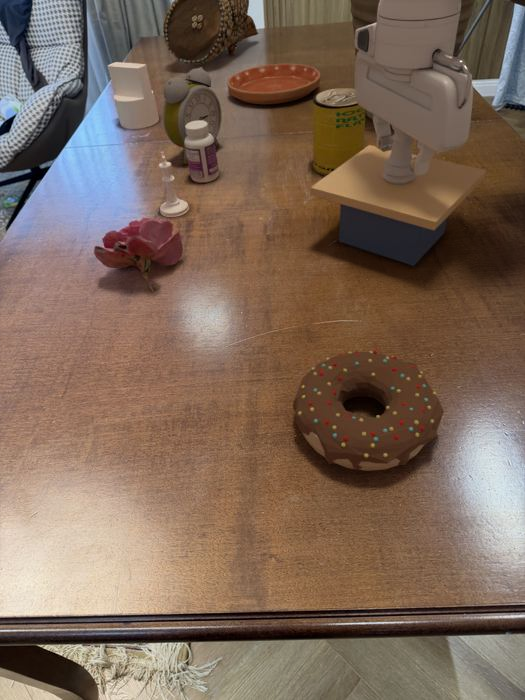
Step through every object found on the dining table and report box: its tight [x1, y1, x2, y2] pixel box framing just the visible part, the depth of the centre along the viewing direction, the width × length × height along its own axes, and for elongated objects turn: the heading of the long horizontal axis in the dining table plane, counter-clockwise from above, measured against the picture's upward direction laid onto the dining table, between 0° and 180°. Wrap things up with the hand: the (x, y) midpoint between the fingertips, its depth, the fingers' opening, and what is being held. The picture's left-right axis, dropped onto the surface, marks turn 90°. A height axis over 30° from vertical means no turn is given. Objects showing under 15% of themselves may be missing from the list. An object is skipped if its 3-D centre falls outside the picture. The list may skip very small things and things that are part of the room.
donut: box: [292, 350, 444, 472], centre depth 49 cm, size 14×14×5 cm
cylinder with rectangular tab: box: [107, 61, 160, 130], centre depth 114 cm, size 9×9×12 cm
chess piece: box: [158, 150, 190, 218], centre depth 83 cm, size 5×5×10 cm
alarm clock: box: [162, 66, 222, 165], centre depth 97 cm, size 12×7×15 cm, turn 143°
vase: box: [350, 0, 476, 121], centre depth 101 cm, size 24×24×30 cm
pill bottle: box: [184, 120, 220, 184], centre depth 91 cm, size 5×5×10 cm
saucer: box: [226, 63, 321, 105], centre depth 125 cm, size 23×23×4 cm
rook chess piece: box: [382, 124, 416, 185], centre depth 66 cm, size 4×4×8 cm
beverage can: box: [312, 87, 366, 176], centre depth 89 cm, size 9×9×12 cm
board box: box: [310, 144, 487, 267], centre depth 72 cm, size 18×16×9 cm
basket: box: [162, 0, 260, 66], centre depth 149 cm, size 24×22×35 cm
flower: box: [93, 217, 184, 292], centre depth 71 cm, size 11×10×10 cm
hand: (400, 160), depth 67 cm, fingers open, 7 cm apart
